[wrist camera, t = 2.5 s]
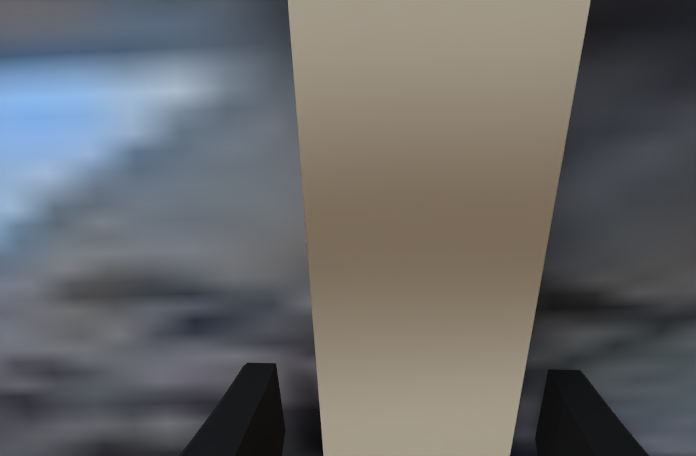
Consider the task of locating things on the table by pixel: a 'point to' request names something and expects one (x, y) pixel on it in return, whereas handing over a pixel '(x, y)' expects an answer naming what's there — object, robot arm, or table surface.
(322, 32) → the push stick
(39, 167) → the table surface
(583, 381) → the robot arm
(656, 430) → the table surface
